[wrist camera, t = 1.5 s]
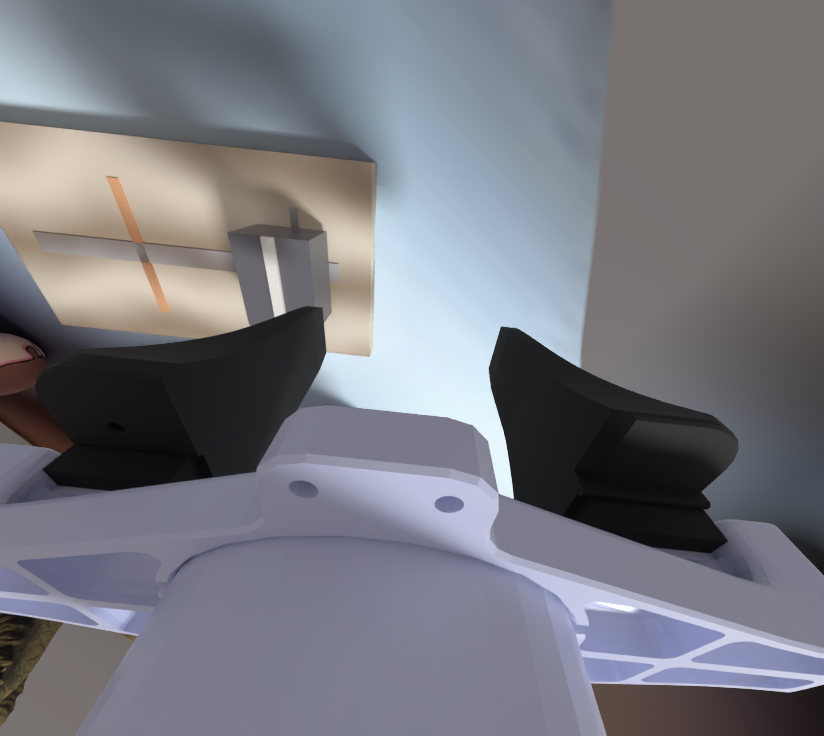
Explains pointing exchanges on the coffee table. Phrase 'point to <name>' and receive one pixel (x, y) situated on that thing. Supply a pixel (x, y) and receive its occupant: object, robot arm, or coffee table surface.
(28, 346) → the figurine character
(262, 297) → the fader tab
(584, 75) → the coffee table surface
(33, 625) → the figurine
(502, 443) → the coffee table surface
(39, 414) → the coffee table surface
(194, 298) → the fader console
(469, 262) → the coffee table surface
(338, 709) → the robot arm
